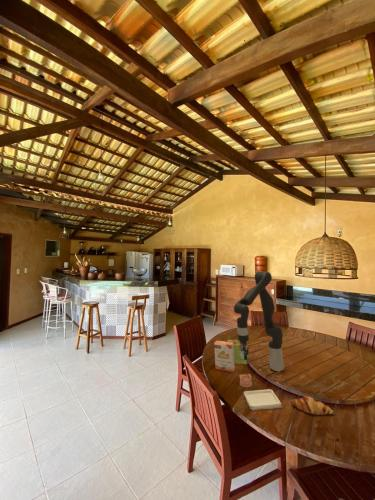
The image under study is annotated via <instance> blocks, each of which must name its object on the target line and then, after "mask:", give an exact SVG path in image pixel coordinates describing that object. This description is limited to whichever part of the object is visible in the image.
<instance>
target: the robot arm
mask: <svg viewBox="0 0 375 500" xmlns="http://www.w3.org/2000/svg"><path fill="white" fill-rule="evenodd" d="M272 279H273V277H272V274H271V272H268V271H257V272H255V274H254V280H255V286H253V287H252V288H250V289H249V290H247V292H246V293H245V294H244V296H243V297H242V298H241V299H239V300H238V301H237V302H236V303H235V305H234V306H233V312H234V313H235V314H237V315H240V316H239V317H237V319H236V322H237V323H236V326H237V328H236V330H237V331H236V332H237V334H236V335H237V340H239V342H240V348H241V351H243V353H244V360H247V361H248V358H249V346H248V343H247V342H248V341H250V337H249V335H250V334H249V326H248V321H249V314H250V308H249V306H250V305H252V304H253V302H254V301H255V300H256V298H257V296H259V299H260V304H261V305H260V306H261V309H262V315H263V320H264V321H263V322H264V329H265V330H264V331H265V333H266V335H267V336H268V337H271V338H272V340H271V341H269V342H268V357H269V358H268V359H269V369H270V368H271V369H273V370H277V371H281V370H284V371H285V363H284V357H283V349H282V345H283V330H282V328H281V326H278V325H275V324H274V320H273V316H274V313H275V310H276V308H275V307H276V306H275V301H274V298H273V297H272V295H271V294H270V293H269V291H268V290H267V288H266V287H268V285H269V284H270V283H271V282H272ZM247 355H248V357H247Z"/></svg>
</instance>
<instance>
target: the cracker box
mask: <svg viewBox="0 0 375 500" xmlns="http://www.w3.org/2000/svg"><path fill="white" fill-rule="evenodd" d="M213 343H214V363H215V365H214V366H215V370H219V371H224V372H229V373H233V372H234V371H235V365H236V364H234V347H233V342H228V341H224V340H216V341H215V342H213Z"/></svg>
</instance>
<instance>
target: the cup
mask: <svg viewBox="0 0 375 500" xmlns="http://www.w3.org/2000/svg"><path fill="white" fill-rule="evenodd" d="M239 378H240V380H239V385H240V386H241V387H243V388H251V387H252V386H253V382H252V380H253V377H252V375H251V374H250V373H248V374H239Z"/></svg>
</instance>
